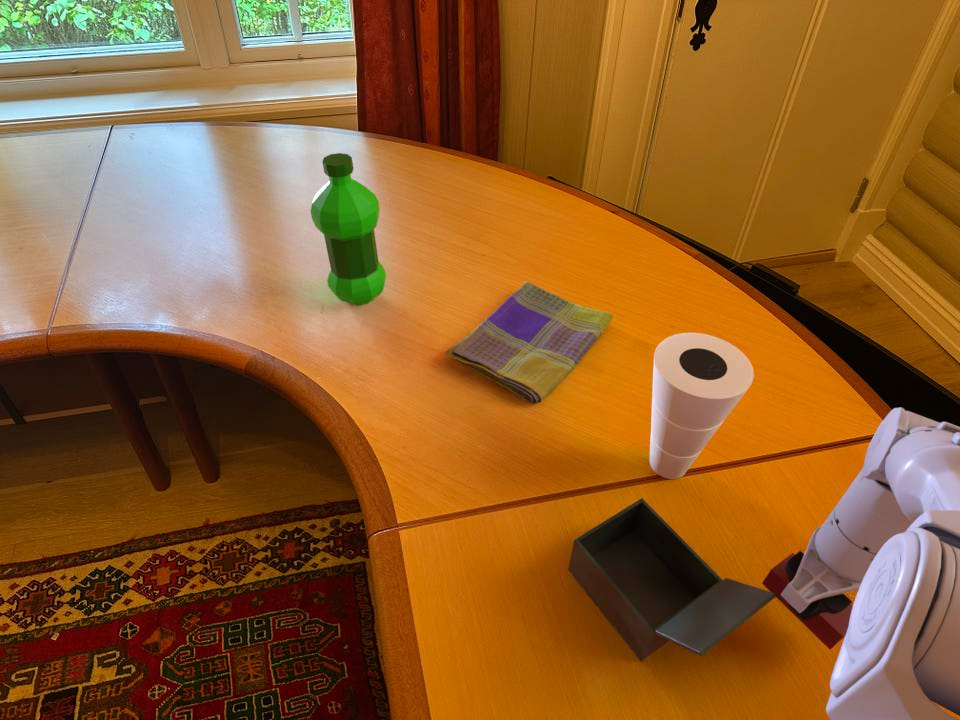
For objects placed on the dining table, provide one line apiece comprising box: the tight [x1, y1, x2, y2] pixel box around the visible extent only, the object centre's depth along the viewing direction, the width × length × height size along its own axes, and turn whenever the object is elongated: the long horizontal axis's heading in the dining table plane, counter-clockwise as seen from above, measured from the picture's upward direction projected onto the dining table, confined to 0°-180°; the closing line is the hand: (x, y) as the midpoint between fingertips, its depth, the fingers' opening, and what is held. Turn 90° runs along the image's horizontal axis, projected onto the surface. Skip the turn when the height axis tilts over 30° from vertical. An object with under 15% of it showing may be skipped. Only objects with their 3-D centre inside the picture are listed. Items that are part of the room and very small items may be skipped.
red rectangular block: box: [761, 552, 853, 650], centre depth 60 cm, size 8×4×3 cm, turn 33°
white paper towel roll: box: [648, 332, 755, 480], centre depth 73 cm, size 11×11×18 cm
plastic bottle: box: [310, 152, 387, 307], centre depth 97 cm, size 10×10×25 cm
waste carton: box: [567, 497, 724, 662], centre depth 64 cm, size 12×10×6 cm
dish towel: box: [444, 281, 613, 405], centre depth 96 cm, size 18×24×3 cm
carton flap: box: [656, 577, 776, 657], centre depth 55 cm, size 6×10×1 cm
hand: (810, 599), depth 60 cm, fingers closed on red rectangular block, 3 cm apart
